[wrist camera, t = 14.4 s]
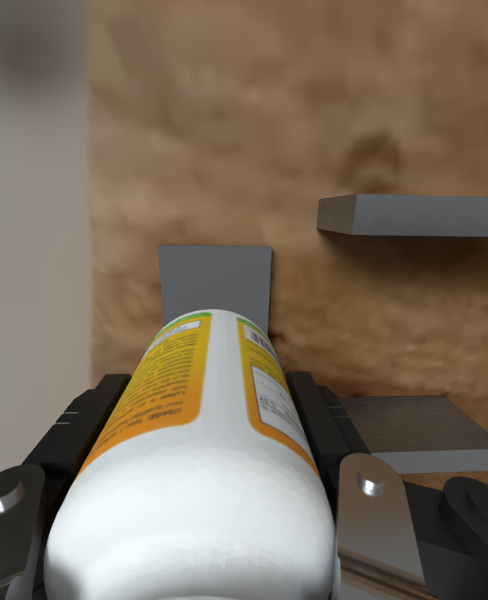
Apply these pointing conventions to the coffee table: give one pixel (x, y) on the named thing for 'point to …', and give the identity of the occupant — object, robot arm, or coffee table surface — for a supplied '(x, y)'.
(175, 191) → the coffee table surface
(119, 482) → the supplement bottle
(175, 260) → the gray rectangular block
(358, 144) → the coffee table surface
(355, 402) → the grey bricks
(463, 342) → the coffee table surface
